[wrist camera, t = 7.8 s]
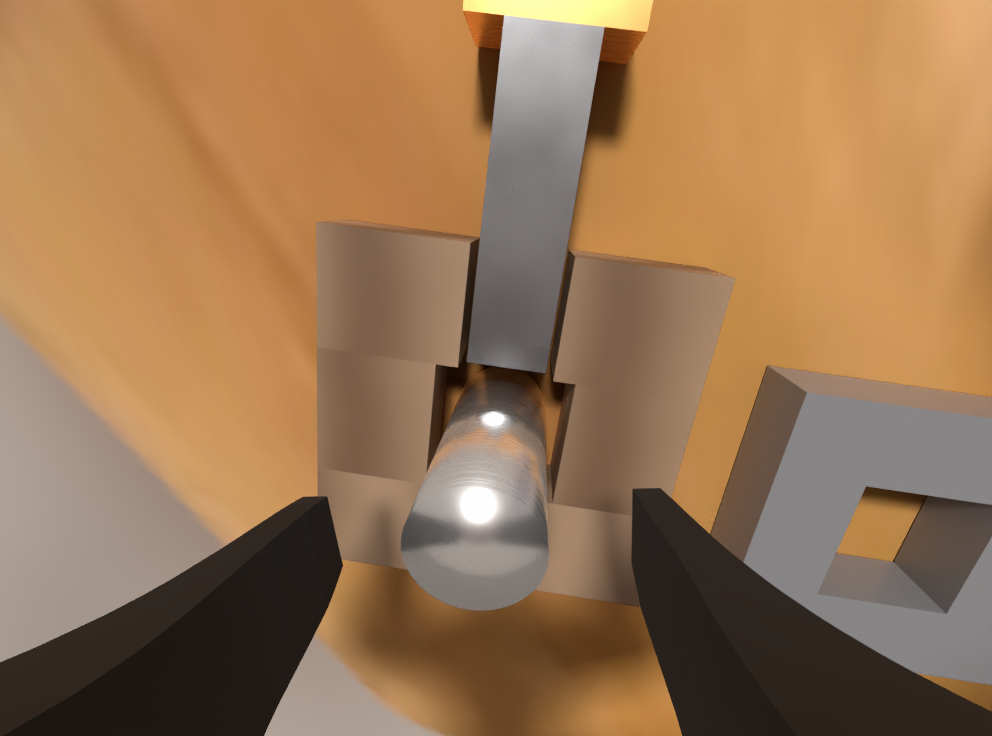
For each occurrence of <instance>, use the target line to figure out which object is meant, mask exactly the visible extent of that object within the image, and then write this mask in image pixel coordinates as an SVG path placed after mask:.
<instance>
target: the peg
mask: <svg viewBox="0 0 992 736" xmlns="http://www.w3.org/2000/svg"><path fill="white" fill-rule="evenodd" d="M401 552H402V557H403V560H404V563H405V566H406V568H407V570H408V572H409V573H410V575H411V576H412V578H413V579H414V580H415V581H416V583H417V584H418V585H419V586H420V587H421V588H422V589H423V590H425V591H426V592H427V593H428V594H430V595H431V596H433V597H434V598H436V599H438V600H440V601H441V602H444V603H446V604H448V605H451V606H454V607H457V608H462V609H467V610H475V611H487V610H496V609H500V608H504V607H507V606H510V605H513V604H515V603H517V602H519V601H521V600H522V599H524V598H525V597H527V596H528V595H529V594H530V593H532V592H533V591H534V590H535V588H536V587H537V586H538V585H539V583H540V582H541V580H542V579H543V577H544V575H545V572H546V569H547V566H548V559H549V541H548V508H547V475H546V443H545V410H544V399H543V395H542V392H541V390H540V388H539V386H538V385H537V384H536V382H535V381H534V380H533V379H532V378H531V377H530V376H529V375H527V374H526V373H524V372H522V371H520V370H518V369H512V368H505V367H498V366H494V367H489V368H486V369H484V370H481V371H479V372H478V373H476V374H475V375H474V376H472V377H471V378H470V379H469V381H468V382H467V383H466V385H465V386H464V388H463V390H462V393H461V395H460V397H459V400H458V402H457V404H456V407H455V409H454V411H453V413H452V416H451V418H450V420H449V423H448V425H447V427H446V430H445V432H444V434H443V437H442V439H441V441H440V443H439V446H438V448H437V450H436V453H435V455H434V457H433V460H432V462H431V464H430V467H429V469H428V471H427V474H426V476H425V478H424V480H423V483H422V485H421V487H420V490H419V492H418V494H417V497H416V499H415V501H414V504H413V506H412V508H411V510H410V513H409V515H408V517H407V520H406V522H405V524H404V527H403V531H402V535H401Z"/></svg>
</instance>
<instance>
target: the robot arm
mask: <svg viewBox="0 0 992 736" xmlns="http://www.w3.org/2000/svg"><path fill="white" fill-rule="evenodd" d="M631 563H632V568H633V573H634V578H635V583H636V588H637V592H638V597H639V602H640V606H641V609H642V613H643V616H644V619H645V622H646V625H647V628H648V631H649V634H650V637H651V640H652V643H653V646H654V649H655V652H656V655H657V658H658V661H659V664H660V667H661V670H662V673H663V676H664V679H665V682H666V685H667V688H668V691H669V694H670V697H671V700H672V703H673V706H674V709H675V712H676V715H677V719H678V722H679V726H680V729H681V732H682V736H992V712H991V711H989V710H987V709H985V708H983V707H981V706H979V705H977V704H974V703H972V702H970V701H969V700H967V699H965V698H963V697H961V696H959V695H957V694H955V693H953V692H951V691H949V690H947V689H945V688H943V687H941V686H939V685H937V684H935V683H933V682H932V681H930V680H928V679H926V678H924V677H922V676H920V675H918V674H916V673H914V672H912V671H911V670H909V669H907V668H905V667H903V666H902V665H900V664H898V663H896V662H894V661H892V660H891V659H889V658H887V657H885V656H883V655H882V654H880V653H878V652H877V651H875V650H873V649H871V648H870V647H868V646H866V645H865V644H863V643H861V642H860V641H858V640H856V639H855V638H853V637H851V636H849V635H848V634H846V633H844V632H843V631H841V630H839V629H838V628H836V627H835V626H833V625H831V624H830V623H828V622H827V621H825V620H823V619H822V618H820V617H819V616H817V615H816V614H814V613H813V612H811V611H810V610H808V609H807V608H805V607H804V606H802V605H801V604H799V603H798V602H796V601H795V600H794V599H792V598H791V597H789V596H788V595H786V594H785V593H783V592H782V591H780V590H779V589H778V588H776V587H775V586H773V585H772V584H771V583H769V582H768V581H767V580H765V579H764V578H763V577H761V576H760V575H759V574H758V573H756V572H755V571H754V570H752V569H751V568H750V567H749V566H747V565H746V564H745V563H743V562H742V561H741V560H740V559H738V558H737V557H736V556H735V555H734V554H732V553H731V552H730V551H729V550H728V549H726V548H725V547H724V546H723V545H722V544H721V543H719V542H718V541H717V540H716V539H715V538H714V537H713V536H711V535H710V534H709V533H708V532H707V531H706V530H705V529H704V528H702V527H701V526H700V525H699V524H698V523H697V522H696V521H695V520H694V519H693V518H692V517H691V516H690V515H688V514H687V513H686V512H685V511H684V510H683V509H682V508H681V507H680V506H679V505H678V504H677V503H676V502H675V501H674V500H673V499H672V498H671V497H669V496H668V495H667V494H666V493H665V492H664V491H663V490H662V489H661V488H639V489H633V492H632V554H631ZM342 567H343V564H342V559H341V555H340V550H339V546H338V541H337V537H336V533H335V528H334V524H333V519H332V515H331V510H330V506H329V502H328V497H327V496H318V497H302V498H300V499H298V500H297V501H295V502H293V503H291V504H290V505H288V506H286V507H285V508H283V509H282V510H280V511H278V512H277V513H275V514H274V515H272V516H271V517H269V518H268V519H266V520H265V521H263V522H262V523H260V524H258V525H257V526H255V527H254V528H252V529H251V530H249V531H248V532H246V533H245V534H243V535H242V536H240V537H239V538H237V539H236V540H234V541H232V542H231V543H229V544H228V545H226V546H225V547H223V548H222V549H220V550H219V551H217V552H215V553H214V554H212V555H210V556H209V557H207V558H206V559H204V560H202V561H201V562H199V563H197V564H196V565H194V566H192V567H191V568H189V569H188V570H186V571H185V572H183V573H181V574H180V575H178V576H176V577H175V578H173V579H172V580H169V581H168V582H166V583H165V584H162V585H161V586H159V587H157V588H155V589H153V590H152V591H150V592H148V593H146V594H145V595H143V596H141V597H139V598H137V599H135V600H133V601H131V602H129V603H128V604H125V605H124V606H122V607H120V608H118V609H116V610H114V611H112V612H110V613H108V614H106V615H104V616H102V617H100V618H98V619H96V620H94V621H92V622H89V623H87V624H85V625H83V626H81V627H79V628H77V629H74V630H72V631H70V632H68V633H66V634H64V635H62V636H59V637H57V638H55V639H53V640H51V641H49V642H47V643H44V644H42V645H40V646H38V647H36V648H33V649H31V650H29V651H26V652H24V653H22V654H19V655H17V656H15V657H12V658H10V659H7V660H5V661H3V662H0V736H264V734H265V732H266V730H267V727H268V725H269V723H270V721H271V719H272V717H273V715H274V713H275V710H276V708H277V706H278V704H279V702H280V700H281V698H282V696H283V694H284V693H285V691H286V689H287V687H288V685H289V683H290V681H291V679H292V677H293V675H294V673H295V671H296V669H297V667H298V665H299V663H300V661H301V660H302V658H303V656H304V653H305V652H306V650H307V648H308V646H309V644H310V642H311V640H312V638H313V636H314V634H315V632H316V630H317V628H318V626H319V624H320V622H321V620H322V618H323V616H324V614H325V612H326V610H327V608H328V606H329V603H330V601H331V598H332V595H333V593H334V590H335V587H336V584H337V581H338V579H339V576H340V573H341V570H342Z"/></svg>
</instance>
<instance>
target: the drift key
mask: <svg viewBox="0 0 992 736" xmlns="http://www.w3.org/2000/svg"><path fill="white" fill-rule="evenodd" d="M652 3H653V0H464V2H463V12H464V15H465V18H466V20H467V23H468V26H469V29H470V31H471V34H472V37H473V40H474V42H475V45H476V46H479V47H487V48H496V49H500V59H499V68H498V77H497V86H496V96H495V105H494V114H493V123H492V133H491V142H490V151H489V160H488V170H487V179H486V188H485V197H484V206H483V216H482V225H481V234H480V243H479V253H478V262H477V271H476V280H475V290H474V299H473V308H472V317H471V326H470V336H469V345H468V354H467V362H470V363H477V364H484V365H491V366H498V367H505V368H512V369H519V370H526V371H533V372H540V373H546V369H547V363H548V357H549V351H550V345H551V340H552V334H553V328H554V322H555V316H556V310H557V304H558V298H559V293H560V287H561V281H562V275H563V269H564V263H565V257H566V251H567V245H568V240H569V234H570V228H571V222H572V216H573V210H574V204H575V198H576V192H577V187H578V181H579V175H580V169H581V163H582V157H583V151H584V145H585V140H586V134H587V128H588V122H589V116H590V110H591V104H592V98H593V92H594V87H595V81H596V75H597V69H598V63H599V61H604V62H613V63H621V64H627V63H628V61H629V59H630V58H631V56H632V55H633V53H634V51H635V50H636V48H637V47H638V45H639V44H640V42H641V40H642V39H643V37H644V36H645V34H646V33H647V29H648V24H649V19H650V14H651V9H652Z"/></svg>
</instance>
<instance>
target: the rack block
mask: <svg viewBox="0 0 992 736" xmlns="http://www.w3.org/2000/svg"><path fill="white" fill-rule="evenodd" d="M866 486H867V487H874V488H881V489H888V490H894V491H901V492H908V493H915V494H921V495H928V496H927V498H926V500H925V502H924V504H923V506H922V508H921V510H920V512H919V514H918V516H917V517H916V519H915V521H914V523H913V525H912V527H911V529H910V531H909V533H908V535H907V537H906V539H905V541H904V543H903V545H902V547H901V549H900V551H899V553H898V555H897V557H896V559H895V561H894V562H890V561H883V560H877V559H870V558H864V557H857V556H851V555H844V554H838V553H836V552H837V549H838V547H839V545H840V543H841V541H842V538H843V536H844V534H845V532H846V530H847V527H848V525H849V523H850V521H851V519H852V516H853V514H854V512H855V510H856V508H857V505H858V503H859V501H860V499H861V497H862V494H863V492H864V490H865V488H866ZM711 536H713V537H714V538H715V539H716V540H717V541H718V542H719V543H721V544H722V545H723V546H724V547H725V548H726V549H728V550H729V551H730V552H731V553H732V554H734V555H735V556H736V557H737V558H738V559H740V560H741V561H742V562H743V563H745V564H746V565H747V566H749V567H750V568H751V569H752V570H754V571H755V572H756V573H758V574H759V575H760V576H761V577H763V578H764V579H765V580H767V581H768V582H769V583H771V584H772V585H773V586H775V587H776V588H778V589H779V590H780V591H782V592H783V593H785V594H786V595H788V596H789V597H791V598H792V599H794V600H795V601H796V602H798V603H799V604H801V605H802V606H804V607H805V608H807V609H808V610H810V611H811V612H813V613H814V614H816V615H817V616H819V617H820V618H822V619H823V620H825V621H827V622H828V623H830V624H831V625H833V626H835V627H836V628H838V629H839V630H841V631H843V632H844V633H846V634H848V635H849V636H851V637H853V638H855V639H856V640H858V641H860V642H861V643H863V644H865V645H866V646H868V647H870V648H871V649H873V650H875V651H877V652H878V653H880V654H882V655H883V656H885V657H887V658H889V659H891V660H892V661H894V662H896V663H898V664H900V665H902V666H903V667H905V668H907V669H909V670H911V671H912V672H914V673H919V674H925V675H931V676H937V677H944V678H950V679H956V680H962V681H968V682H975V683H981V684H987V685H992V397H987V396H980V395H973V394H965V393H958V392H951V391H944V390H937V389H930V388H923V387H916V386H909V385H901V384H894V383H887V382H880V381H873V380H866V379H859V378H852V377H845V376H837V375H830V374H823V373H816V372H809V371H802V370H795V369H788V368H780V367H773V366H767V369H766V372H765V375H764V378H763V381H762V384H761V387H760V390H759V393H758V396H757V399H756V402H755V404H754V407H753V410H752V413H751V416H750V419H749V422H748V425H747V428H746V431H745V434H744V437H743V440H742V443H741V446H740V449H739V452H738V455H737V458H736V461H735V464H734V467H733V470H732V473H731V475H730V478H729V481H728V484H727V487H726V490H725V493H724V496H723V499H722V502H721V505H720V508H719V511H718V514H717V517H716V520H715V523H714V526H713V529H712V532H711Z"/></svg>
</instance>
